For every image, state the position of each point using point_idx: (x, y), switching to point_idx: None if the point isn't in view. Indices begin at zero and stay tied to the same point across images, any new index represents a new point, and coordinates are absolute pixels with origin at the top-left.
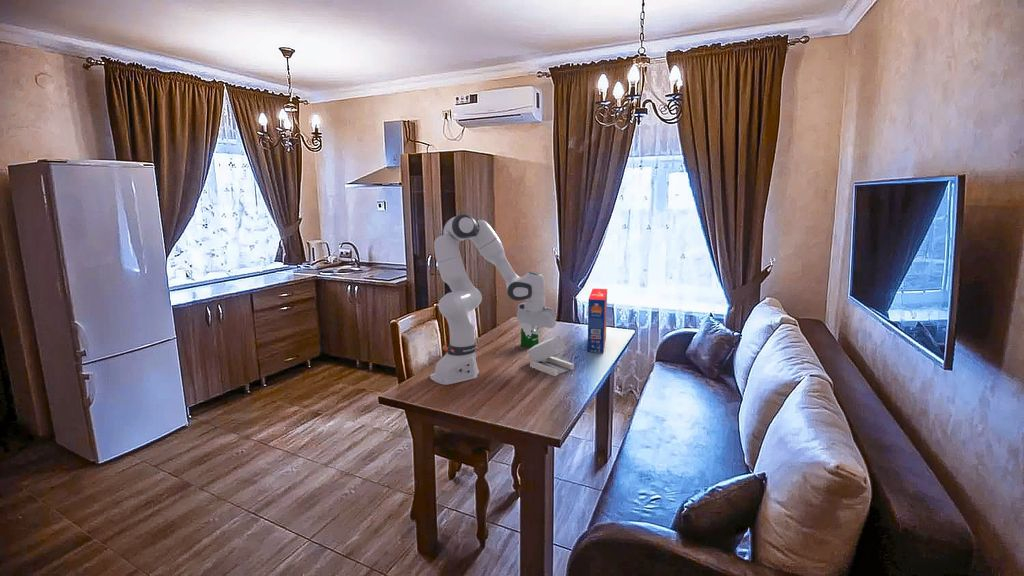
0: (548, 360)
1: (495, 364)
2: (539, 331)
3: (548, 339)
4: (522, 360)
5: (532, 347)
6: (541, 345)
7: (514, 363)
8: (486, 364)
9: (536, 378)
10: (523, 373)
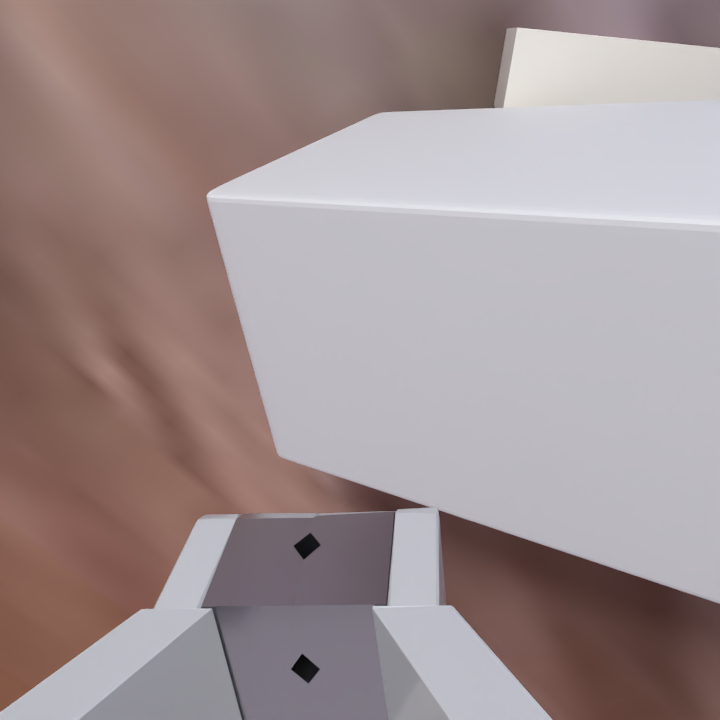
0: None
1: (79, 582)
2: (439, 584)
3: (705, 244)
4: (187, 308)
5: (286, 354)
6: (666, 568)
7: (200, 450)
8: (20, 625)
9: (716, 638)
10: (505, 610)
